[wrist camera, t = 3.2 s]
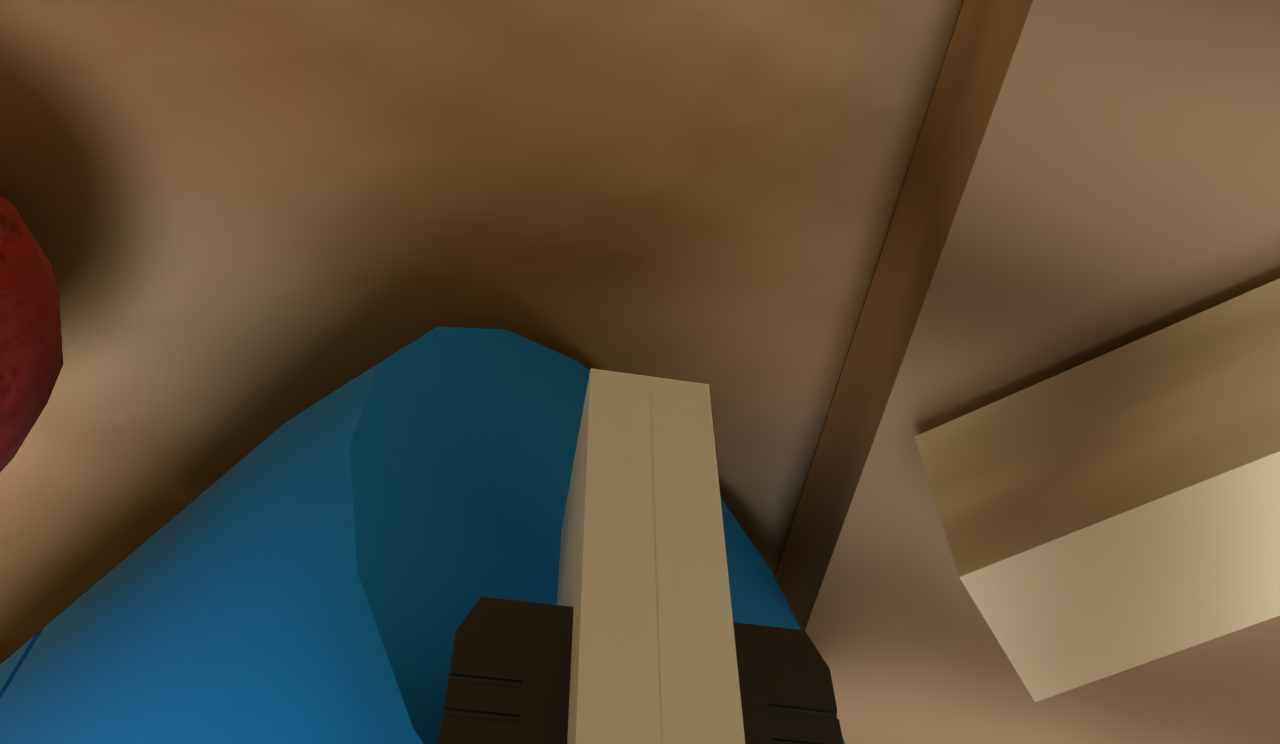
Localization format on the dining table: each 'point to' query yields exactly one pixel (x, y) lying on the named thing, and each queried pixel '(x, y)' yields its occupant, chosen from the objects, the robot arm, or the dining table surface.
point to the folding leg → (1123, 498)
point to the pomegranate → (25, 331)
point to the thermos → (337, 565)
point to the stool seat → (1037, 346)
